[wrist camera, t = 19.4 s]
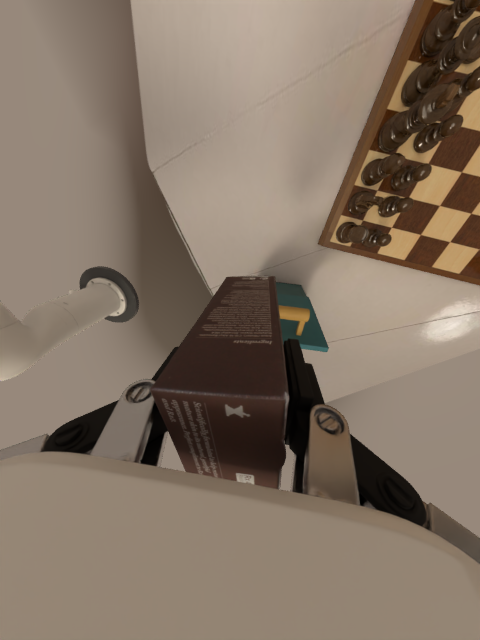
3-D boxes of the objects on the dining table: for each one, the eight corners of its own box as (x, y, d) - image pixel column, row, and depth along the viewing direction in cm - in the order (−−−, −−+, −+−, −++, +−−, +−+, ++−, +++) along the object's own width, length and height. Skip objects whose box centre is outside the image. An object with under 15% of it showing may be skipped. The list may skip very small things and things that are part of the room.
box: (222, 276, 16) (140, 388, 5) (275, 274, 15) (307, 397, 5) (228, 335, 18) (184, 485, 8) (273, 335, 18) (290, 497, 7)
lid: (327, 352, 25) (340, 322, 22) (242, 340, 26) (245, 310, 23) (307, 300, 37) (314, 277, 35) (251, 293, 38) (254, 270, 35)
